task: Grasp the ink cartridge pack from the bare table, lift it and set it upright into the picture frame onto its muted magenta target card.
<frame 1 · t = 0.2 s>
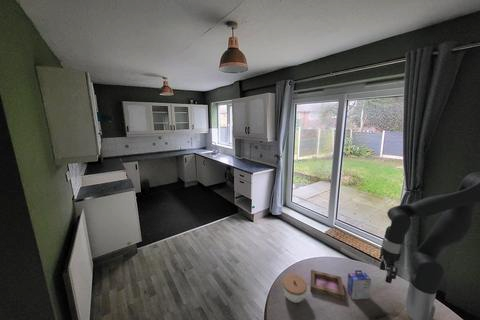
hand: (384, 275, 96), 18 cm above the table, tool pointing down, fingers open, 8 cm apart
lidded bowl: (293, 297, 105), on the table
picture frame: (325, 286, 111), on the table
ink cartridge box: (357, 295, 106), on the table
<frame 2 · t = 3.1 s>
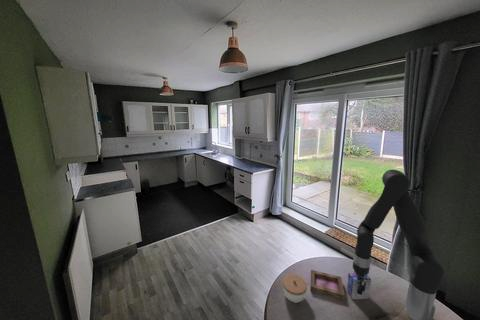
hand: (358, 288, 105), 4 cm above the table, tool pointing down, fingers closed on ink cartridge box, 6 cm apart
ink cartridge box: (357, 295, 106), on the table, touching gripper
everything else where it was.
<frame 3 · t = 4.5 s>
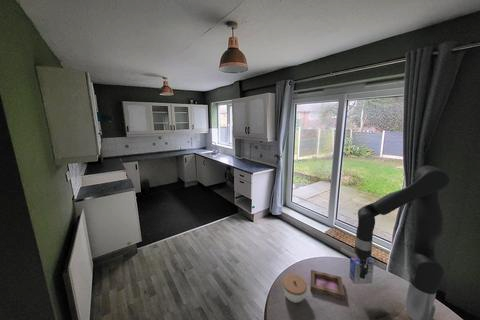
hand: (360, 272, 103), 14 cm above the table, tool pointing down, fingers closed on ink cartridge box, 6 cm apart
ink cartridge box: (360, 280, 104), point 10 cm above the table, touching gripper
everything else where it was.
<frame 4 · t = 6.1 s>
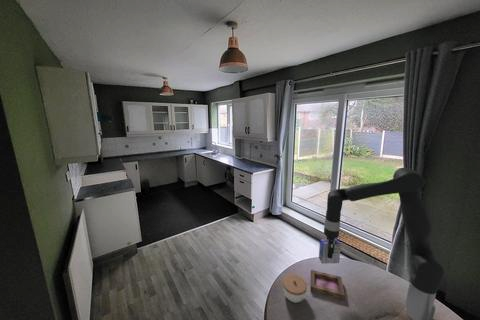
hand: (329, 253, 107), 22 cm above the table, tool pointing down, fingers closed on ink cartridge box, 6 cm apart
ink cartridge box: (328, 260, 108), point 18 cm above the table, touching gripper
everything else where it was.
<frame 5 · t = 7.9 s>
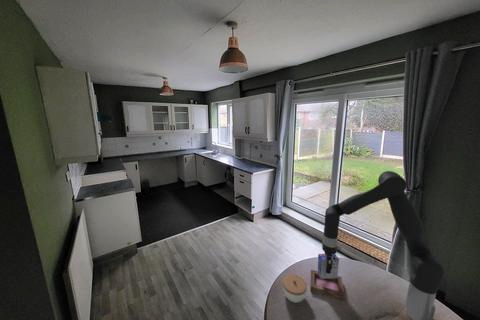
hand: (327, 268, 109), 13 cm above the table, tool pointing down, fingers closed on ink cartridge box, 6 cm apart
ink cartridge box: (327, 275, 110), point 8 cm above the table, touching gripper
everything else where it was.
when the fingers open (7 cm above the table, at t = 9.5 s): ink cartridge box drops 2 cm, resting on picture frame.
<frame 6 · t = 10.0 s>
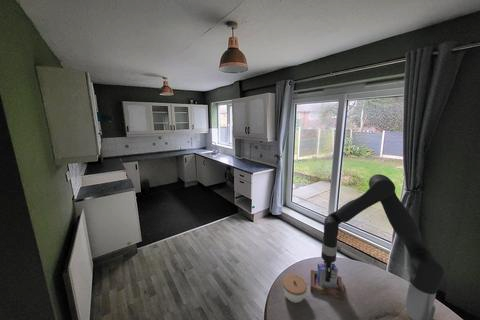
hand: (326, 275, 110), 8 cm above the table, tool pointing down, fingers open, 8 cm apart
ink cartridge box: (326, 284, 111), point 1 cm above the table, touching picture frame
everything else where it was.
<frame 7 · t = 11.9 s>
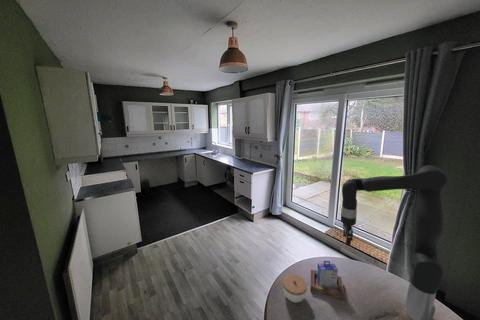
hand: (346, 240, 110), 27 cm above the table, tool pointing down, fingers open, 8 cm apart
nothing on the table moved.
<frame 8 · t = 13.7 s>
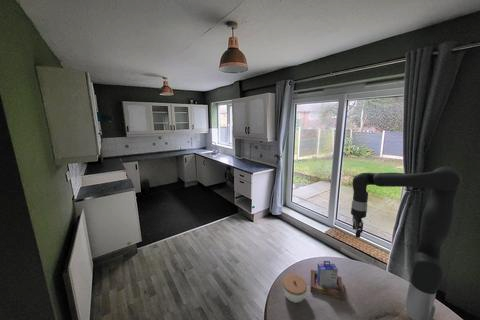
hand: (356, 233, 112), 30 cm above the table, tool pointing down, fingers open, 8 cm apart
nothing on the table moved.
at the end: ink cartridge box 0.3 cm off-centre on the picture frame, point 1.0 cm above the picture frame's base; ink cartridge box tilted 0°; the gripper is holding nothing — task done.
